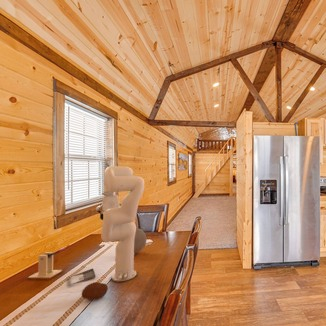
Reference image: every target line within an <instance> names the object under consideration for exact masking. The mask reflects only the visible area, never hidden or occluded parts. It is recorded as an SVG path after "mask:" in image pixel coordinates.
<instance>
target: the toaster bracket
mask: <svg viewBox="0 0 326 326" xmlns="http://www.w3.org/2000/svg"><path fill="white" fill-rule="evenodd" d="M54 252H55V251H53V252H51V251H48V252H47V251H45V252H44V254H39V255H38V262H37V264H38V267H37V272H34V273H33V274H31V275H29V276H28V277H27V279H50V278H52V277H54V276H56V275H58V274H59V273H61V272H63V269H54V256H55V254H54V255H52V256H50V258H48V255H47V254H52V253H54Z"/></svg>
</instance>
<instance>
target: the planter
mask: <svg viewBox="0 0 326 326" xmlns="http://www.w3.org/2000/svg"><path fill="white" fill-rule="evenodd" d="M117 241H118V242H119V241H120V240H117ZM147 241H148V240H147V235H146V233H145V231H144V230H143V229H141V228H138V227H136V233H135V239H134V254H138V253H139V252H141V251H142V250H143V249H144V248H145V247H146V245H147ZM118 242H117V243H118Z"/></svg>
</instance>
